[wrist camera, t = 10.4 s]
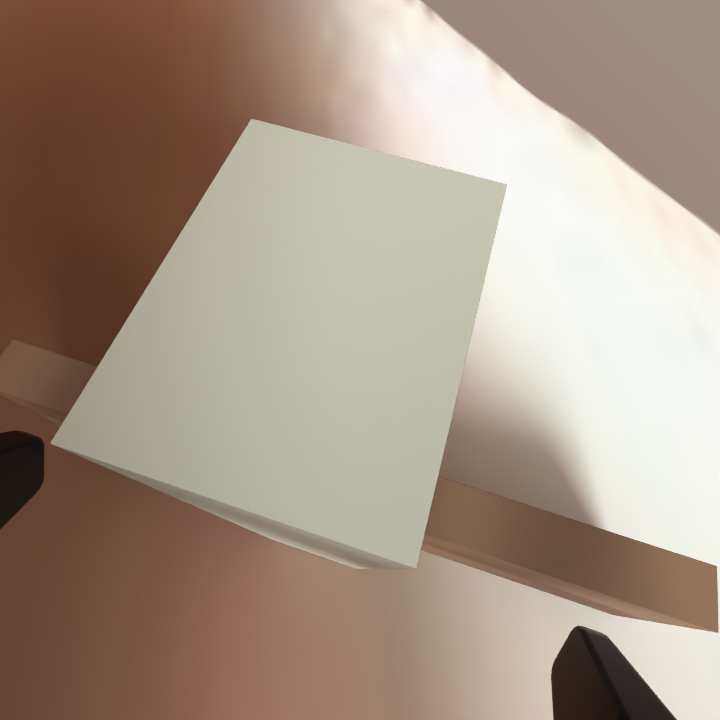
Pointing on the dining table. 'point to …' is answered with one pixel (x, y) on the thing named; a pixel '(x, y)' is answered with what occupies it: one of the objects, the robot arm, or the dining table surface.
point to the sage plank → (301, 347)
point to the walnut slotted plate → (471, 525)
